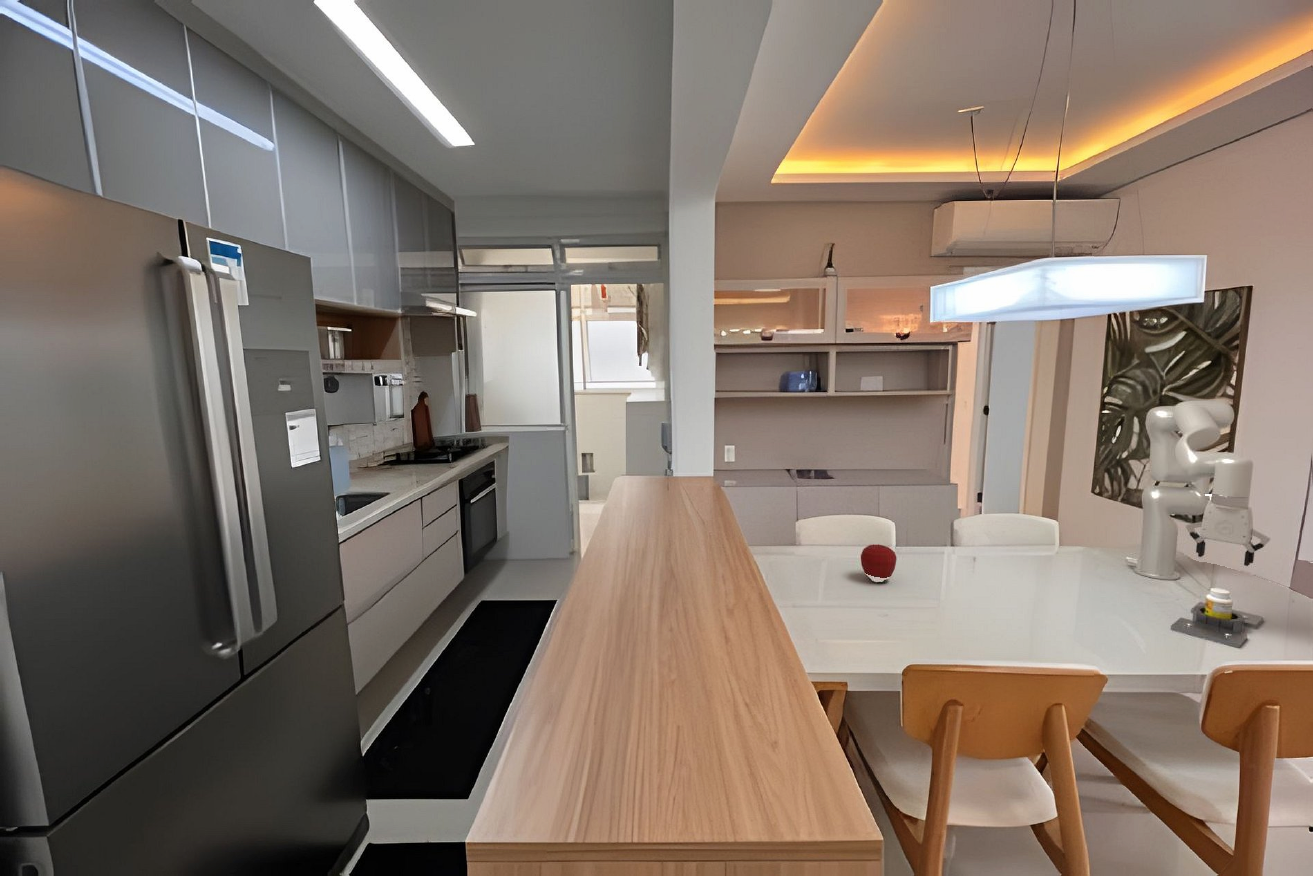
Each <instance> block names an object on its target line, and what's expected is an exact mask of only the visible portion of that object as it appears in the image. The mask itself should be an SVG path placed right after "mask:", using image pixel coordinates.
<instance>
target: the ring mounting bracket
mask: <svg viewBox="0 0 1313 876" xmlns="http://www.w3.org/2000/svg"><path fill="white" fill-rule="evenodd" d="M1205 603H1206V602H1202V601H1199V602H1198V603H1196V605H1194V606H1193V607H1192V608H1191V609H1190V613H1191V614H1192V619H1187V618H1183V617H1179V618H1178V619H1177V620H1176V621H1174V622H1173V623H1172V624H1171V625H1170V630H1171V629H1172V630H1171V631H1173V630H1174V631H1175V632H1177V631H1179V632H1178V633H1181V632H1182V633H1181V634H1184V633H1185V635H1188V634H1190V635H1189V636H1192V635H1193V636H1192V637H1196V636H1197V637H1196V638H1199V637H1200V638H1199V639H1203V638H1205V639H1204V640H1207V639H1208V640H1207V641H1210V640H1213V641H1212V642H1214V641H1215V643H1218V642H1220V643H1219V644H1221V643H1222V644H1223V645H1225V646H1229V647H1233V648H1237V649H1240V647H1241V646H1242V645H1243V644H1244V643H1245V642H1246V640H1247V639H1248V634H1247V633H1243V631H1244V629H1245V627H1246V628H1250V629H1254V630H1256V629H1257V628H1258V627H1259V626H1260V625H1261V624H1262V623H1263V622H1264V616H1261V615H1257V614H1253V613H1250V612H1244V611H1240V610H1236V609H1232V615H1231V619H1222V618H1217V617H1213V616H1209V615H1207V614H1205ZM1192 620H1193V621H1192ZM1241 632H1242V633H1241ZM1222 644H1221V645H1222Z"/></svg>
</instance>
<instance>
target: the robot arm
mask: <svg viewBox="0 0 1313 876" xmlns="http://www.w3.org/2000/svg"><path fill="white" fill-rule="evenodd" d="M1234 419H1235V412H1234V409H1233V407H1232V406H1231V404H1230V403H1228V402H1226V401H1225V400H1224V401H1223V400H1184V401H1182V402H1178V403H1177V404H1176V405H1166V406H1165V405H1164V406H1163V405H1162V406H1156V407H1153V408H1151V409H1150V410H1149V411H1148V412H1147V414H1146V419H1145V426H1146V430H1147V433H1148V436H1149V440H1150V445H1149V446H1150V447H1149V462H1148V463H1149V466H1148V468H1149V469H1148V473H1149V477H1150V479H1152V480H1153V481H1155V482H1160V483H1170V484H1171V483H1173V484H1175V483H1176V484H1187V485H1188V486H1174V485H1169V486H1168V485H1152V486H1148V487H1146V488H1144V489H1143V490H1142V493H1141V504H1142V514H1143V515H1142V517H1143V518H1142V533H1141V543H1140V544H1141V545H1140V554H1139V555H1140V556H1139V557H1131V556H1127V555H1126V556H1125V559H1124V560H1125V563H1127V564H1131V565H1135V566H1133V571H1134V572H1135V573H1136V574H1138V575H1141V576H1143V577H1148V578H1150V579H1151V578H1152V579H1157V580H1165V581H1166V580H1170V581H1171V580H1172V581H1173V580H1179V579H1180V576H1181V574H1180V573H1179V572H1178V571H1176V570H1175V568H1176V567H1175V565H1176V556H1177V545H1178V535H1179V526H1178V524H1177V522H1176V521H1175V520H1174V519H1173V518H1172V517H1171V515H1184V516H1185V515H1186V516H1200V515H1203V516H1202V521H1198V522H1195V523H1190V524H1187V525H1186V526H1185V529H1186V530H1187V532H1188V533H1189V536H1190V537H1191V538H1192V539H1193V540H1194V541H1195V542H1196V549H1195V553H1196V554H1197V557H1199V558H1202V557H1203V556H1204V555H1205V552H1206V551H1205V550H1206V542H1205V540H1206V539H1207V540H1212V541H1218V542H1222V543H1229V544H1234V545H1241V546H1244V548H1245V549H1246V551H1244V552H1245V553H1244V560H1243V561H1244V562H1243V566H1245V567H1249V566H1250V564H1253V563H1254V558H1255V552H1257V551H1259V550H1260V549H1263V548H1264V547H1266V545H1267V544H1268V543H1269V542H1270V541H1271V538H1270V537H1269V536H1267V535H1265V534H1263V533H1261V532H1259V531H1257V530H1256V529H1254V518H1253V517H1254V516H1253V510H1252V508H1251V507H1250V506H1249V503H1250V493H1251V487H1252V486H1251V485H1252V477H1253V469H1254V463H1253V461H1252V460H1251V459H1250V458H1248V457H1244V456H1243V455H1242V454H1240V453H1236V452H1225V451H1223V452H1222V451H1220V452H1219V451H1196V450H1199V449H1200V450H1201V449H1202V448H1206V447H1209V446H1211V445H1213V444H1215V443H1216V442H1218V440H1219V439H1220V438H1221V436H1222V435H1221V433H1222V431H1221V430H1223V429H1225V428H1228V427H1229V426H1230V425H1232V423H1233V422H1234ZM1177 432H1180V433H1181V435H1182V436H1181V437H1180V435H1178V433H1177ZM1211 479H1213V481H1212V482H1213V483H1212V491H1211V493H1210V482H1211V481H1210V480H1211ZM1209 501H1210V502H1209ZM1197 528H1200V535H1199V534H1198V533H1197V532H1196V530H1195V529H1197ZM1253 537H1255V538H1256V539H1259V540H1260V541H1259V543H1257V544H1254V543H1253V542H1252V540H1253Z"/></svg>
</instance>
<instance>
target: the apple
mask: <svg viewBox="0 0 1313 876" xmlns="http://www.w3.org/2000/svg"><path fill="white" fill-rule="evenodd" d="M897 559H898V558H897V556H896V553H895V550H893V549H892V548H890V547H889V546H887V545H882V544H879V543H878V544H869V545H867V546H866V547H864V548H863V549H862V551H861V554H860V564H861V567H862V570H863V572H865V573H866V574H868V575H871V576H874V577H880V578H887V577H890V576H891V577H892V575H893V573H894V572H895V569H896V565H897V561H898V560H897ZM865 573H864V574H865ZM891 577H890V578H891Z"/></svg>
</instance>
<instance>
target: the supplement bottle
mask: <svg viewBox="0 0 1313 876" xmlns="http://www.w3.org/2000/svg"><path fill="white" fill-rule="evenodd" d="M1233 602H1234V601H1233V599H1232V598H1231V597H1230V591H1229V590H1226V589H1224V588H1218V587H1217V588H1215V587H1212V588H1210V592H1209V594H1206V597H1205V602H1204V603H1205V614H1207V615H1209V616H1213V617H1217V618H1222V619H1231V615H1232V610H1233Z"/></svg>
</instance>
